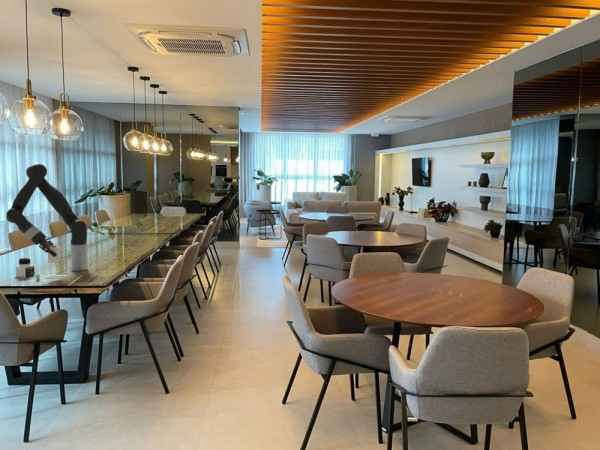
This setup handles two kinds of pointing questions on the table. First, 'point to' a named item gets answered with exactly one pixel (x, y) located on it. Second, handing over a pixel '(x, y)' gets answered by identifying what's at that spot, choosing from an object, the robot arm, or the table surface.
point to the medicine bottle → (24, 268)
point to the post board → (46, 278)
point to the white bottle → (57, 257)
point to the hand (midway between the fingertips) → (57, 255)
